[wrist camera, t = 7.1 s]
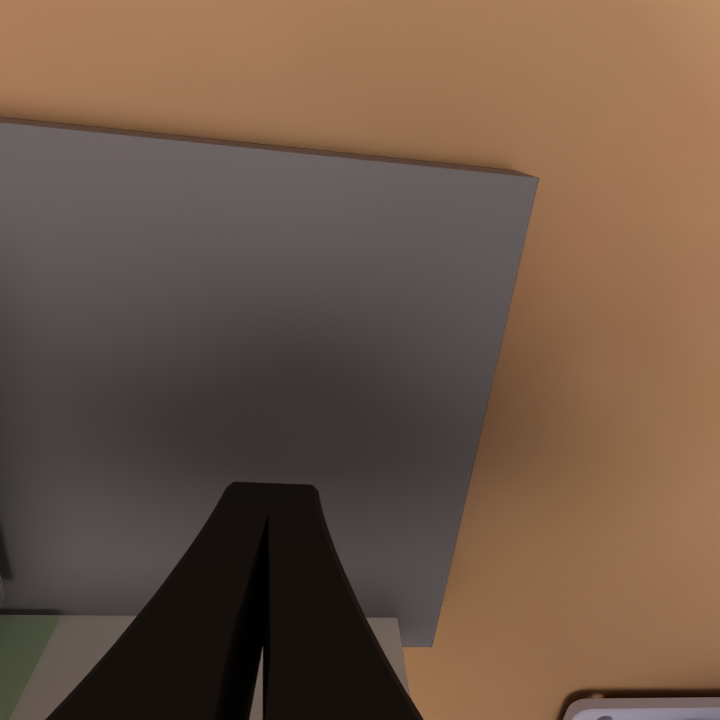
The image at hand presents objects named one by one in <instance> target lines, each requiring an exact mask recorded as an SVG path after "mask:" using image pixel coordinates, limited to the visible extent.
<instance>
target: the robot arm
mask: <svg viewBox="0 0 720 720" xmlns="http://www.w3.org/2000/svg"><path fill="white" fill-rule="evenodd" d="M262 648H263V716H262V720H423V718H422V716H421V715H420V713H419V711H418V710H417V708H416V707H415V705H414V703H413V702H412V700H411V698H410V697H409V695H408V694H407V692H406V690H405V689H404V687H403V685H402V683H401V682H400V680H399V678H398V676H397V675H396V673H395V671H394V669H393V668H392V666H391V664H390V662H389V660H388V659H387V657H386V655H385V653H384V651H383V649H382V648H381V646H380V644H379V642H378V640H377V638H376V636H375V634H374V632H373V630H372V628H371V627H370V625H369V623H368V621H367V619H366V617H365V615H364V613H363V610H362V608H361V606H360V604H359V602H358V600H357V598H356V596H355V594H354V591H353V589H352V587H351V584H350V582H349V580H348V578H347V575H346V573H345V571H344V569H343V566H342V564H341V562H340V559H339V557H338V554H337V552H336V549H335V547H334V544H333V541H332V538H331V535H330V533H329V530H328V527H327V524H326V521H325V517H324V514H323V510H322V506H321V502H320V497H319V491H318V490H317V489H316V488H315V487H314V486H313V485H310V484H283V483H257V482H233V483H231V484H230V485H229V486H227V487H226V489H225V491H224V492H223V494H222V496H221V498H220V500H219V502H218V503H217V505H216V507H215V509H214V510H213V512H212V513H211V515H210V517H209V518H208V520H207V521H206V523H205V525H204V526H203V528H202V529H201V531H200V532H199V534H198V535H197V537H196V538H195V540H194V541H193V543H192V544H191V545H190V547H189V548H188V550H187V551H186V552H185V554H184V555H183V557H182V558H181V559H180V561H179V562H178V563H177V565H176V566H175V568H174V569H173V570H172V572H171V573H170V574H169V576H168V577H167V578H166V580H165V581H164V583H163V584H162V585H161V587H160V588H159V589H158V590H157V592H156V593H155V594H154V596H153V597H152V598H151V599H150V601H149V602H148V603H147V604H146V605H145V607H144V608H143V609H142V610H141V612H140V613H139V614H138V615H137V616H136V618H135V619H134V620H133V621H132V623H131V624H130V625H129V626H128V627H127V629H126V630H125V631H124V632H123V634H122V635H121V636H120V637H119V638H118V640H117V641H116V642H115V643H114V645H113V646H112V647H111V648H110V649H109V650H108V652H107V653H106V654H105V655H104V656H103V657H102V658H101V659H100V661H99V662H98V663H97V664H96V665H95V666H94V667H93V669H92V670H91V671H90V672H89V673H88V674H87V675H86V676H85V677H84V679H83V680H82V681H81V682H80V683H79V684H78V685H77V686H76V687H75V689H74V690H73V691H72V692H71V693H70V694H69V695H68V696H67V697H66V698H65V699H64V700H63V701H62V702H61V703H60V704H59V706H58V707H57V708H56V709H55V710H54V711H53V712H52V713H51V714H50V715H49V716H48V717H47V718H46V719H45V720H249V719H250V713H251V708H252V703H253V697H254V692H255V686H256V681H257V676H258V670H259V665H260V659H261V654H262ZM563 720H720V697H678V698H585V699H579V700H577V701H575V702H573V703H572V704H570V706H569V707H568V709H567V711H566V713H565V716H564V718H563Z"/></svg>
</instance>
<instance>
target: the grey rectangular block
mask: <svg viewBox="0 0 720 720" xmlns="http://www.w3.org/2000/svg"><path fill="white" fill-rule="evenodd" d="M4 598H5V592H4V588H3V584H2V579H1V575H0V605H1V603H2V601H3V600H4Z"/></svg>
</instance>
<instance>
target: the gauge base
mask: <svg viewBox="0 0 720 720" xmlns="http://www.w3.org/2000/svg"><path fill="white" fill-rule="evenodd" d="M538 180H539V178H537V177H534V176H531V175H527V174H524V173H521V172H517V171H514V170H505V169H495V168H485V167H476V166H466V165H457V164H447V163H437V162H428V161H418V160H409V159H399V158H389V157H380V156H370V155H360V154H351V153H341V152H332V151H322V150H312V149H303V148H293V147H284V146H274V145H264V144H255V143H245V142H236V141H226V140H216V139H207V138H197V137H187V136H178V135H168V134H159V133H149V132H139V131H130V130H120V129H111V128H101V127H91V126H82V125H72V124H63V123H53V122H43V121H34V120H24V119H14V118H5V117H0V575H1V579H2V584H3V588H4V592H5V598H4V600H3V601H2V603H1V605H0V720H45V719H46V718H47V717H48V716H49V715H50V714H51V713H52V712H53V711H54V710H55V709H56V708H57V707H58V706H59V704H60V703H61V702H62V701H63V700H64V699H65V698H66V697H67V696H68V695H69V694H70V693H71V692H72V691H73V690H74V689H75V687H76V686H77V685H78V684H79V683H80V682H81V681H82V680H83V679H84V677H85V676H86V675H87V674H88V673H89V672H90V671H91V670H92V669H93V667H94V666H95V665H96V664H97V663H98V662H99V661H100V659H101V658H102V657H103V656H104V655H105V654H106V653H107V652H108V650H109V649H110V648H111V647H112V646H113V645H114V643H115V642H116V641H117V640H118V638H119V637H120V636H121V635H122V634H123V632H124V631H125V630H126V629H127V627H128V626H129V625H130V624H131V623H132V621H133V620H134V619H135V618H136V616H137V615H138V614H139V613H140V612H141V610H142V609H143V608H144V607H145V605H146V604H147V603H148V602H149V601H150V599H151V598H152V597H153V596H154V594H155V593H156V592H157V590H158V589H159V588H160V587H161V585H162V584H163V583H164V581H165V580H166V578H167V577H168V576H169V574H170V573H171V572H172V570H173V569H174V568H175V566H176V565H177V563H178V562H179V561H180V559H181V558H182V557H183V555H184V554H185V552H186V551H187V550H188V548H189V547H190V545H191V544H192V543H193V541H194V540H195V538H196V537H197V535H198V534H199V532H200V531H201V529H202V528H203V526H204V525H205V523H206V521H207V520H208V518H209V517H210V515H211V513H212V512H213V510H214V509H215V507H216V505H217V503H218V502H219V500H220V498H221V496H222V494H223V492H224V491H225V489H226V487H227V486H229V485H230V484H231V483H233V482H257V483H283V484H310V485H313V486H314V487H315V488H316V489H317V490H318V491H319V497H320V502H321V506H322V510H323V514H324V517H325V521H326V524H327V527H328V530H329V533H330V535H331V538H332V541H333V544H334V547H335V549H336V552H337V554H338V557H339V559H340V562H341V564H342V566H343V569H344V571H345V573H346V575H347V578H348V580H349V582H350V584H351V587H352V589H353V591H354V594H355V596H356V598H357V600H358V602H359V604H360V606H361V608H362V610H363V613H364V615H365V617H366V619H367V621H368V623H369V625H370V627H371V628H372V630H373V632H374V634H375V636H376V638H377V640H378V642H379V644H380V646H381V648H382V649H383V651H384V653H385V655H386V657H387V659H388V660H389V662H390V664H391V666H392V668H393V669H394V671H395V673H396V675H397V676H398V678H399V680H400V682H401V683H402V685H403V687H404V689H405V690H406V692H407V694H408V695H409V697H410V693H409V687H408V681H407V675H406V669H405V663H404V656H403V650H402V647H432V645H433V641H434V636H435V632H436V628H437V623H438V619H439V614H440V610H441V606H442V601H443V597H444V592H445V588H446V584H447V579H448V575H449V570H450V566H451V562H452V557H453V553H454V549H455V544H456V540H457V535H458V531H459V527H460V522H461V518H462V513H463V509H464V505H465V500H466V496H467V492H468V487H469V483H470V478H471V474H472V470H473V465H474V461H475V456H476V452H477V448H478V443H479V439H480V434H481V430H482V426H483V421H484V417H485V413H486V408H487V404H488V399H489V395H490V391H491V386H492V382H493V377H494V373H495V369H496V364H497V360H498V356H499V351H500V347H501V342H502V338H503V334H504V329H505V325H506V320H507V316H508V312H509V307H510V303H511V298H512V294H513V290H514V285H515V281H516V277H517V272H518V268H519V263H520V259H521V255H522V250H523V246H524V241H525V237H526V233H527V228H528V224H529V220H530V215H531V211H532V206H533V202H534V198H535V193H536V189H537V184H538ZM262 716H263V648H262V654H261V659H260V665H259V670H258V676H257V681H256V686H255V692H254V697H253V703H252V708H251V713H250V719H249V720H262Z"/></svg>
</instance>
